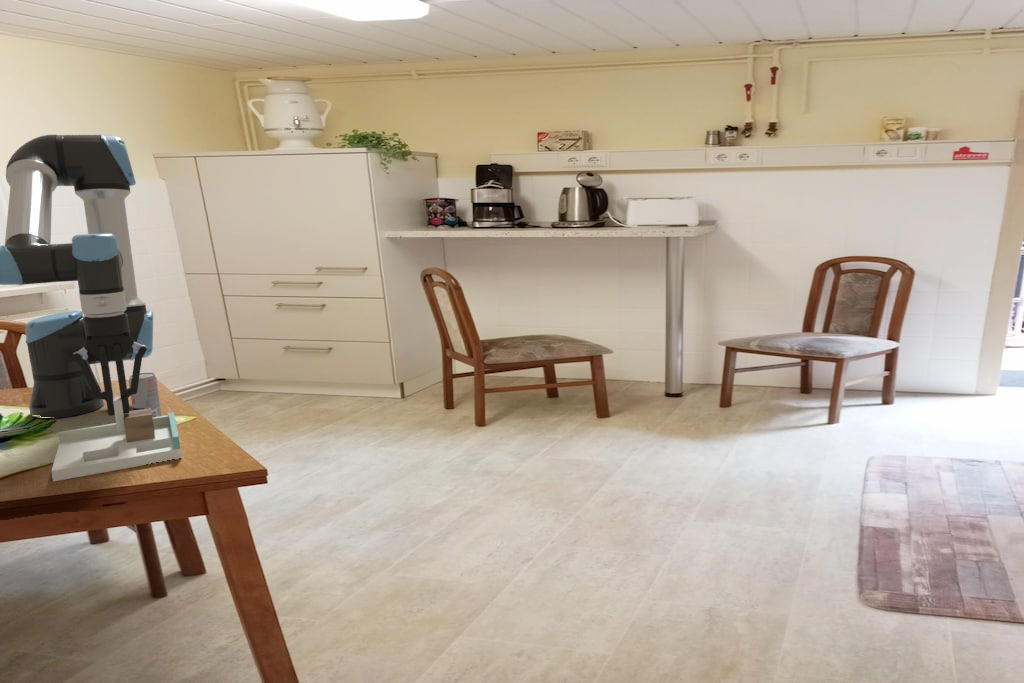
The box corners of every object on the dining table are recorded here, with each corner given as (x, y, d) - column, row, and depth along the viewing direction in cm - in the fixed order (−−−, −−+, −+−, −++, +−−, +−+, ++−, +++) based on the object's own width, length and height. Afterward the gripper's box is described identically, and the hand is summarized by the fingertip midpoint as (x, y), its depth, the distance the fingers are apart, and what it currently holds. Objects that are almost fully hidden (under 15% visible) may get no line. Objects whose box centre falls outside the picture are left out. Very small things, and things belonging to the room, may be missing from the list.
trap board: (61, 450, 140) (57, 429, 139) (176, 431, 150) (173, 411, 149) (53, 481, 124) (48, 458, 124) (181, 458, 134) (178, 436, 133)
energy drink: (137, 426, 154) (130, 374, 152) (164, 423, 156) (157, 371, 153) (134, 433, 149) (126, 379, 147) (161, 430, 151) (154, 377, 148)
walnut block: (127, 435, 142) (123, 412, 141) (154, 431, 144) (151, 408, 143) (127, 442, 138) (123, 418, 137) (155, 438, 140) (151, 414, 139)
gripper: (64, 320, 128) (83, 441, 133) (142, 313, 134) (158, 429, 139) (67, 314, 135) (85, 430, 140) (142, 308, 141) (157, 419, 146)
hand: (121, 429), depth 139 cm, fingers closed
